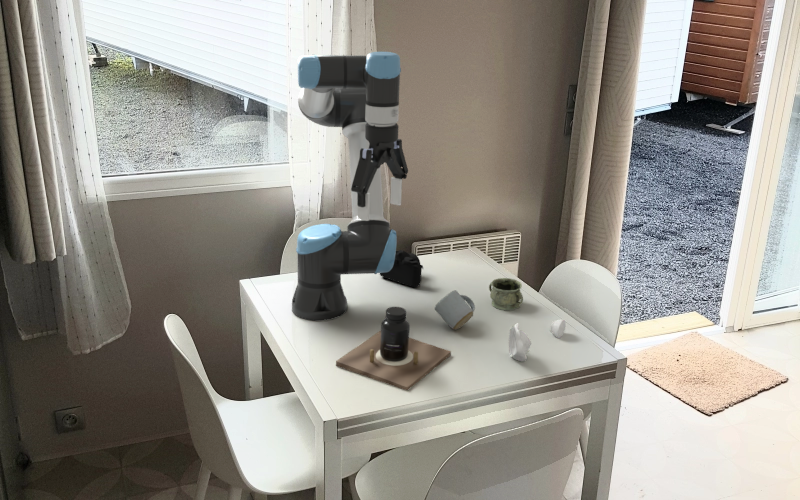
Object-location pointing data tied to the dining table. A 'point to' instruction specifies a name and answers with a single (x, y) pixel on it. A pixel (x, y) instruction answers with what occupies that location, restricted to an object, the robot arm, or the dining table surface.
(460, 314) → the ceramic mug
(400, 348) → the supplement bottle
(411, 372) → the pin board
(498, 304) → the vessel
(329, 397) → the dining table surface
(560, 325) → the white irregular lump
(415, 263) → the film camera
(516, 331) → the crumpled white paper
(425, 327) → the dining table surface
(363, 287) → the dining table surface
